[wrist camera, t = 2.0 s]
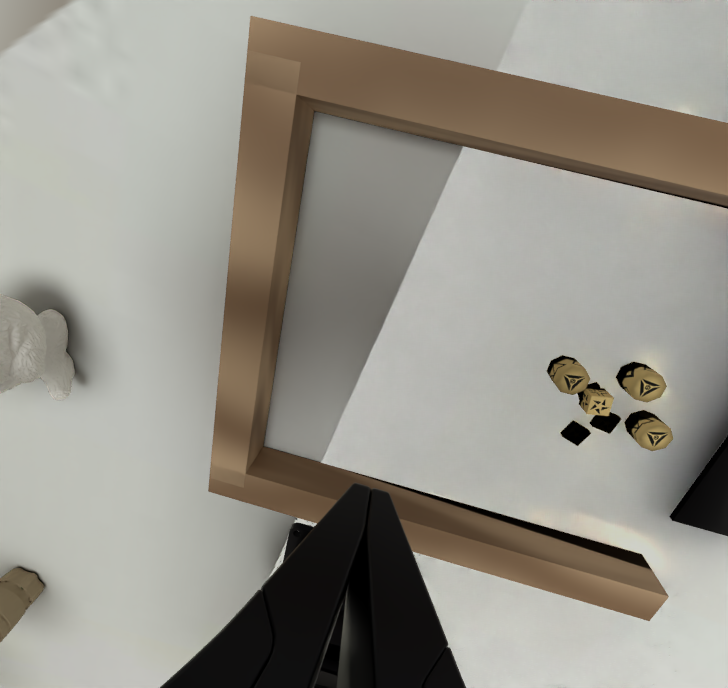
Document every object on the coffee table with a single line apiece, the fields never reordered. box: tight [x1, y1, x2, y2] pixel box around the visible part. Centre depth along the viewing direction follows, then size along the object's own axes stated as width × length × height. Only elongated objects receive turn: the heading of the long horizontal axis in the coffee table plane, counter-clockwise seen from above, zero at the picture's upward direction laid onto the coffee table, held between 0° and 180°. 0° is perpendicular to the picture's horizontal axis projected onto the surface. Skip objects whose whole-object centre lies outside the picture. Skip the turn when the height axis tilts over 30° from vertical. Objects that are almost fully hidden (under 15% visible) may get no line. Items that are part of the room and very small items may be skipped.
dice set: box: [547, 355, 673, 451], centre depth 18 cm, size 5×5×2 cm
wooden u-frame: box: [208, 16, 728, 621], centre depth 18 cm, size 22×25×2 cm
